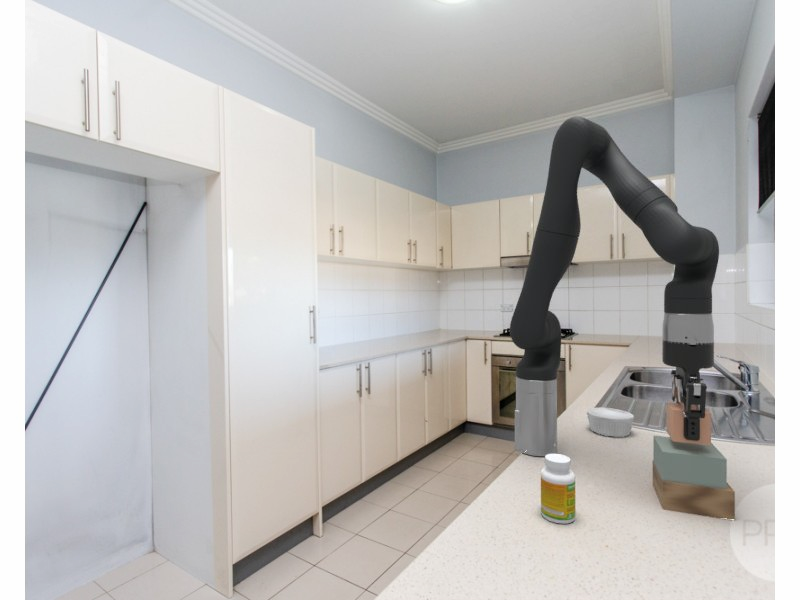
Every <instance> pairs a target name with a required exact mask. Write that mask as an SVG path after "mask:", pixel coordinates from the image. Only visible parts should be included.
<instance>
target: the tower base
mask: <svg viewBox="0 0 800 600" xmlns="http://www.w3.org/2000/svg"><path fill="white" fill-rule="evenodd" d="M652 487H653V489H654V491H655V495H656V496H657V499H658V501H659V504H660V506H661V508H662V510H664V511H665V510H666V511H671V512H677V513H684V514H688V515H689V514H690V515H695V516H701V515H702V517H707V516H709V518H714V517H716V518H715V519H720V518H727V519H735V520H736V518H735V515H736V514H735V512H736V511H735V510H736V507H735V505H736V504H735V502H736V498H735V497H736V491H735V490H734V489H733V488H732V486H731V485H730V484H729V483H728V482H727V490H725V489H718V488H711V487H704V486H696V485H689V484H682V483H675V482H668V481H662V478H661V476H660V474H659V472H658V470H657V468H656V466H655V464H654V462H653V461H652Z"/></svg>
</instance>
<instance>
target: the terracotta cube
mask: <svg viewBox="0 0 800 600" xmlns="http://www.w3.org/2000/svg"><path fill="white" fill-rule="evenodd" d="M691 410H696V406H695V405H691ZM666 433H667V434H668V437H670V438H671V439H672V441H675V442H684V443H693V444H701V445H710V446H711V443H712V412H711V411H710V410H709V409H707V407H705V418H702V419H700V439H699V440H698V441H693V440H686V439H685V438H684V416H683V407H682V404H680V403H675V402H668V401H667V402H666Z"/></svg>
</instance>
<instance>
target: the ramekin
mask: <svg viewBox="0 0 800 600" xmlns="http://www.w3.org/2000/svg"><path fill="white" fill-rule="evenodd" d="M586 414H587V419H588V423H589V425H588V426H589V429H590V430H591V431H592V432H593V431H594V432H596V433H598V434H597V435H599V434H602V435H601V436H603V435H606V436H605V437H608V436H615V437H614V438H624V437H623V436H626V437H627V435H628V436H629V435H630V434H631V430H632V427H633V426H632V425H633V422H634V419H635V415H634V414H632V413H631V412H629V411H625V410H622V409H617V408H611V407H592V408H588V409H586ZM594 432H593V433H594ZM596 433H595V434H596Z"/></svg>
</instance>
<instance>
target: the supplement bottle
mask: <svg viewBox="0 0 800 600" xmlns="http://www.w3.org/2000/svg"><path fill="white" fill-rule="evenodd" d="M571 461H572V460H571V458H570V457H569V456H568V455H564V454H561V453H556V454H547V455H546V456H544V466H545V467H543V468H542V469H541V471H540V513H541V516H542V517H543V518H544V519H546V521H550V522H551V523H556V524H565V525H566V524H571V523H573V522H574V521H575V519H576V475H575V473H574V472H573V470H571V469H572V468H571V467H572V466H571V463H572V462H571Z"/></svg>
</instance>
